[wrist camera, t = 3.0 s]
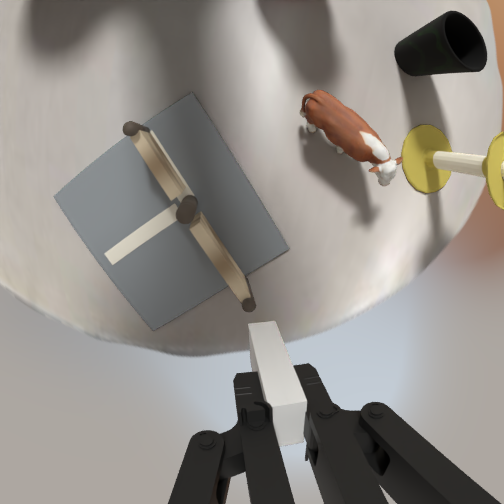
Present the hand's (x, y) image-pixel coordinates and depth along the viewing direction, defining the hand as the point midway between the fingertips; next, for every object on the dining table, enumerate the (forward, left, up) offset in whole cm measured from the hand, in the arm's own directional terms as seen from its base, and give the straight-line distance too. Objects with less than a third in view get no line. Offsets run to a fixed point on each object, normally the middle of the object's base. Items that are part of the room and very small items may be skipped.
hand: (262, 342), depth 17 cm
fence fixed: (-11, -2, -21) cm, 24 cm away
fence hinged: (0, -2, -21) cm, 21 cm away
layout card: (-6, -5, -22) cm, 23 cm away
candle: (+5, +29, -22) cm, 37 cm away
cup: (-9, +34, -22) cm, 42 cm away
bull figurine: (-4, +17, -22) cm, 28 cm away
